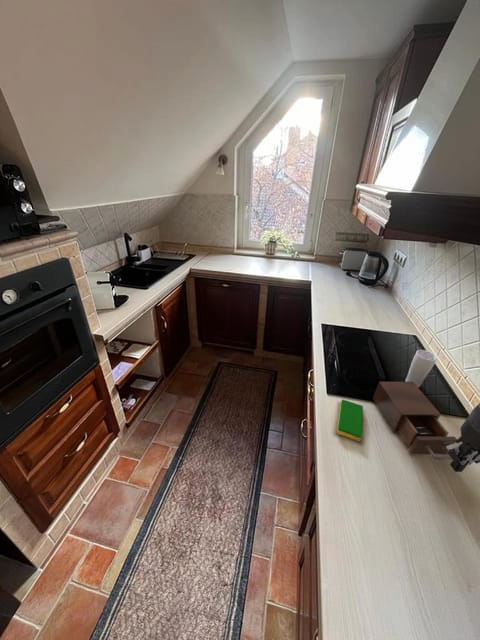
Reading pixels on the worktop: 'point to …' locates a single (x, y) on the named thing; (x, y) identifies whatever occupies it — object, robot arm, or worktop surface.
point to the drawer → (426, 443)
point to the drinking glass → (420, 367)
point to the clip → (424, 432)
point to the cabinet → (402, 402)
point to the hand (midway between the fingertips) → (455, 468)
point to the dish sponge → (350, 420)
